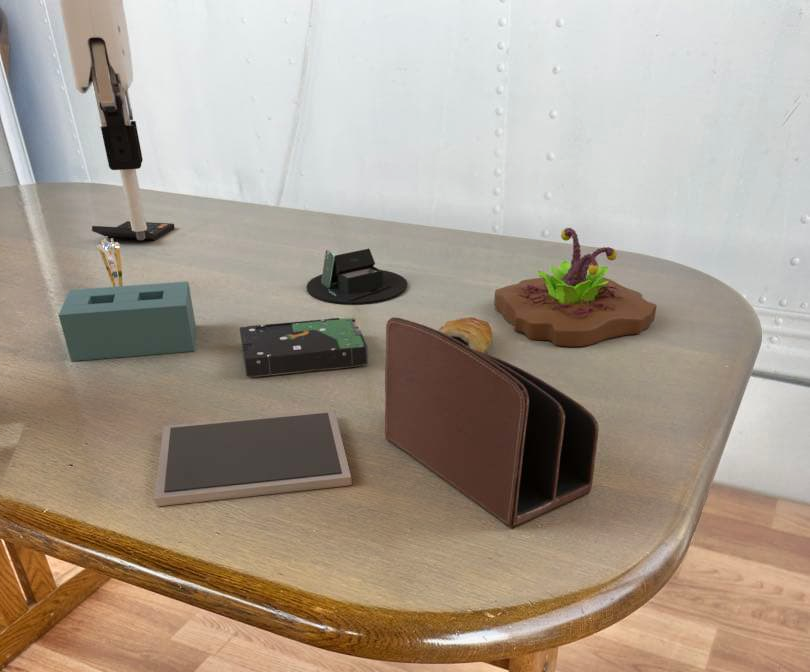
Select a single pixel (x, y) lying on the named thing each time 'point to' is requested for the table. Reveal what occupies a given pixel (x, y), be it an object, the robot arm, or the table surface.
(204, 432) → the tablet
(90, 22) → the robot arm
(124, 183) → the stylus
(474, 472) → the letter holder
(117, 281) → the ring
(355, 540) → the table surface
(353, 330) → the disk drive
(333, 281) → the round circuit board stand
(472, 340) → the pastry
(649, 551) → the table surface
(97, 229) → the calculator
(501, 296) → the plant
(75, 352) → the dock
